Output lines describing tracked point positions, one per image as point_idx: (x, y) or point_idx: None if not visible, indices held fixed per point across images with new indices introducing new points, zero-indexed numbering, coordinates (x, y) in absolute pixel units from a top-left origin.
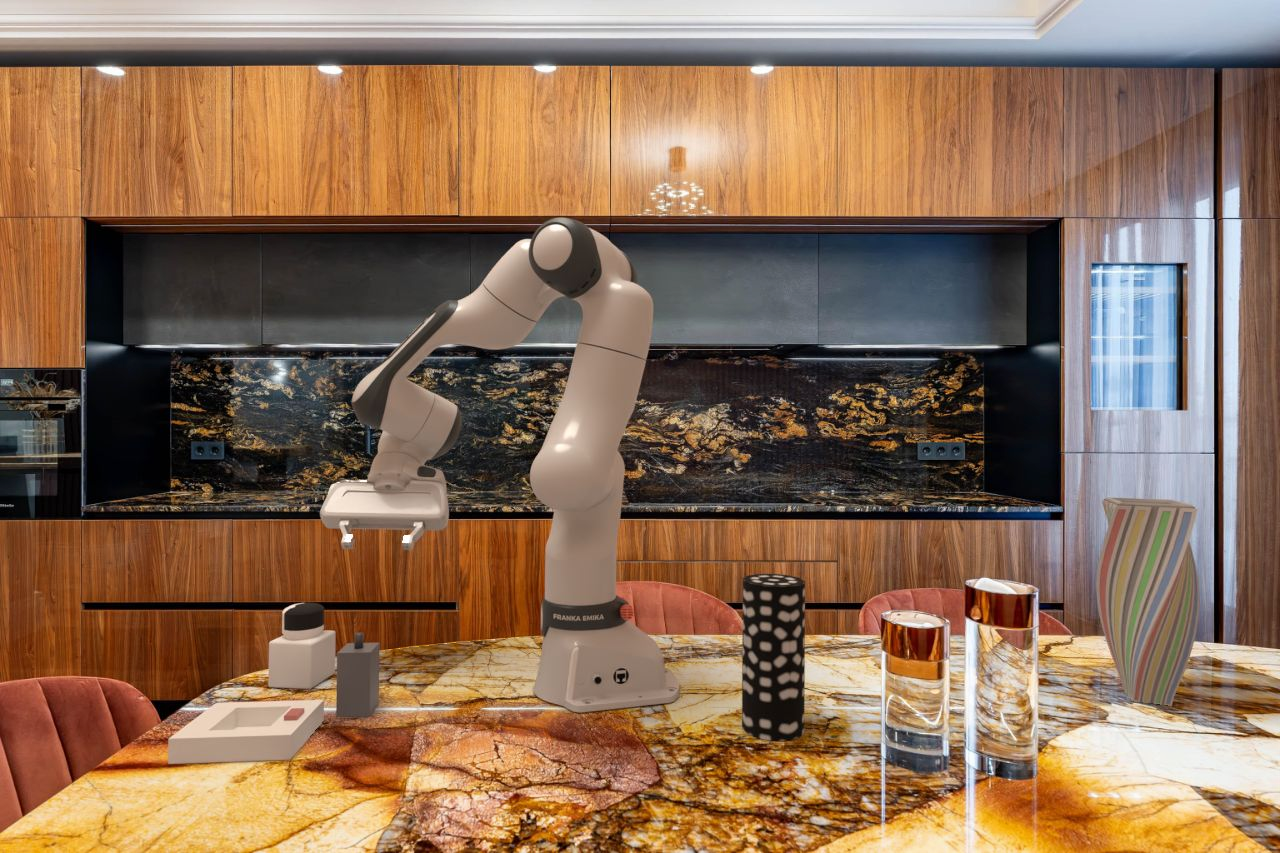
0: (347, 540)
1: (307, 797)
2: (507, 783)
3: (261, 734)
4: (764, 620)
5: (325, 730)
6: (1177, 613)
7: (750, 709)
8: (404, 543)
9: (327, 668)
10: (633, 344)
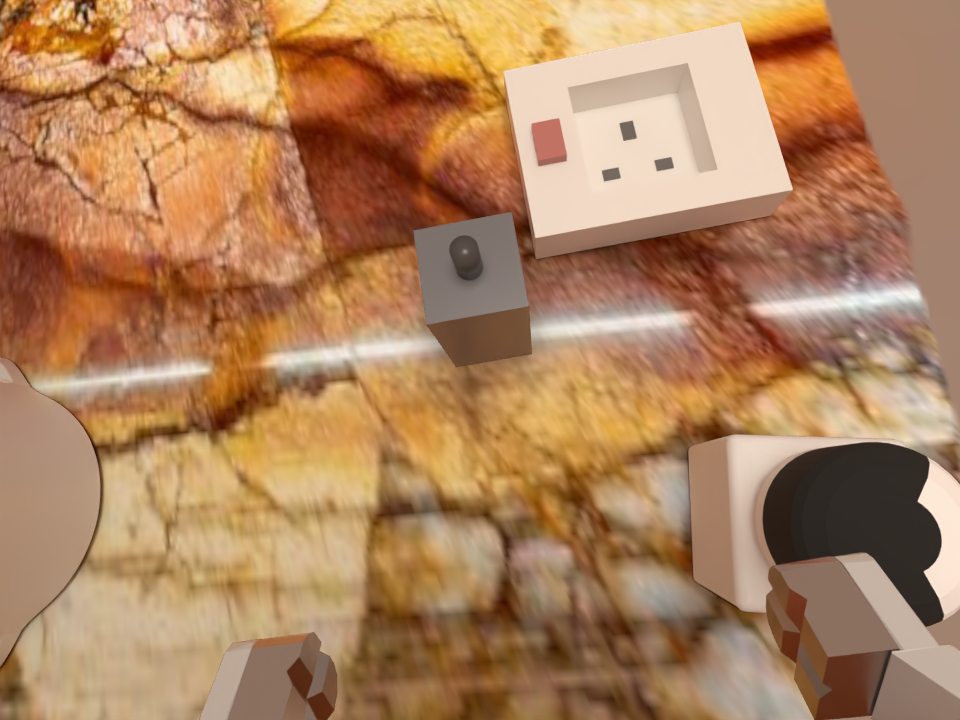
0: (823, 581)
1: (409, 9)
2: (121, 87)
3: (563, 63)
4: None
5: None
6: None
7: None
8: (286, 637)
9: (698, 533)
10: None
